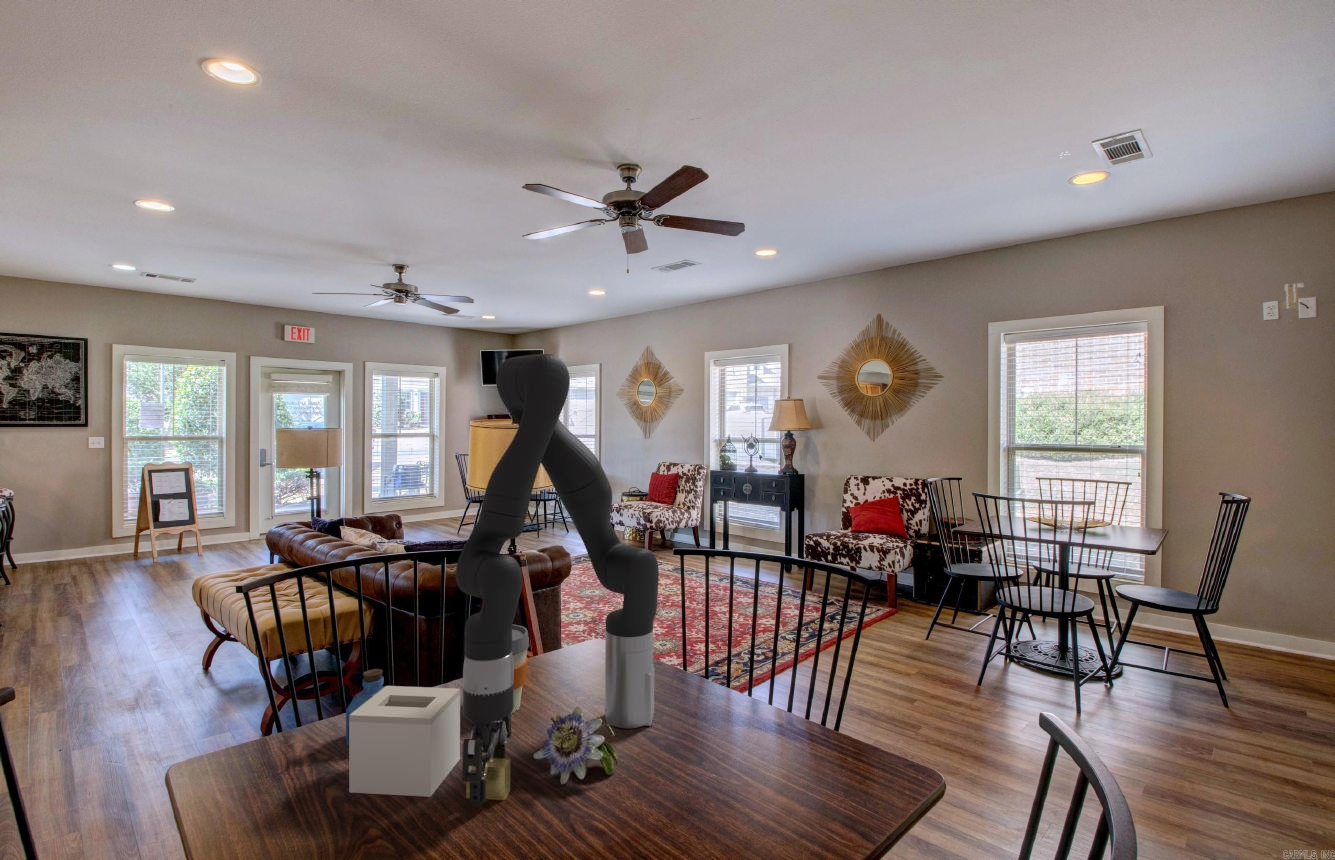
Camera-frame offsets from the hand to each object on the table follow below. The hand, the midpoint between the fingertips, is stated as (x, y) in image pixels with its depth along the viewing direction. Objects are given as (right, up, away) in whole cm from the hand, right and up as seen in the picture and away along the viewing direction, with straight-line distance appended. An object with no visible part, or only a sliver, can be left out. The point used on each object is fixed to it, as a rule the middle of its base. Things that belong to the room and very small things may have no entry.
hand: (488, 786), depth 98 cm
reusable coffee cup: (-7, -1, +30) cm, 30 cm away
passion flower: (+13, -1, +7) cm, 15 cm away
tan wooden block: (0, -1, 0) cm, 1 cm away
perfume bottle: (-26, -1, +17) cm, 31 cm away
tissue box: (-15, -1, +5) cm, 16 cm away
